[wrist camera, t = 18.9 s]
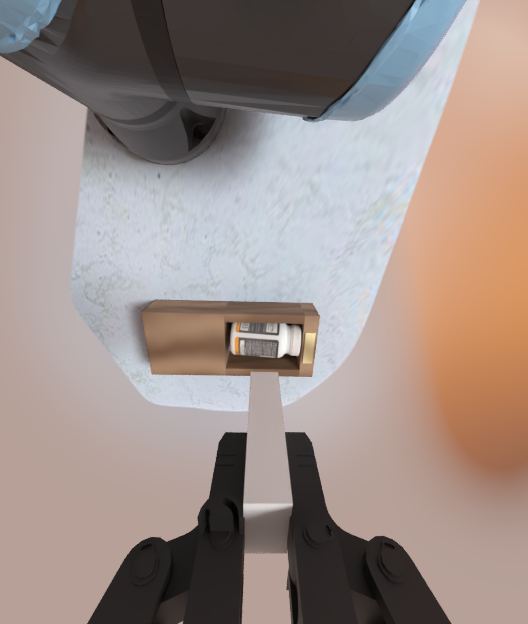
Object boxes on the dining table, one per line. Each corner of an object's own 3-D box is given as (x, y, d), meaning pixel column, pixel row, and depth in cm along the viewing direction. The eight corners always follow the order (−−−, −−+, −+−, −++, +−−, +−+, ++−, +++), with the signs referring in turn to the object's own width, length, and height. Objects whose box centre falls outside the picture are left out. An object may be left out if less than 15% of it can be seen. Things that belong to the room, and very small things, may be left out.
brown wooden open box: (155, 299, 37) (140, 312, 33) (312, 303, 38) (320, 316, 33) (163, 356, 41) (151, 375, 36) (306, 358, 42) (312, 377, 37)
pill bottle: (234, 350, 40) (295, 355, 39) (227, 357, 34) (299, 363, 34) (237, 315, 39) (298, 320, 39) (231, 316, 34) (303, 322, 33)
